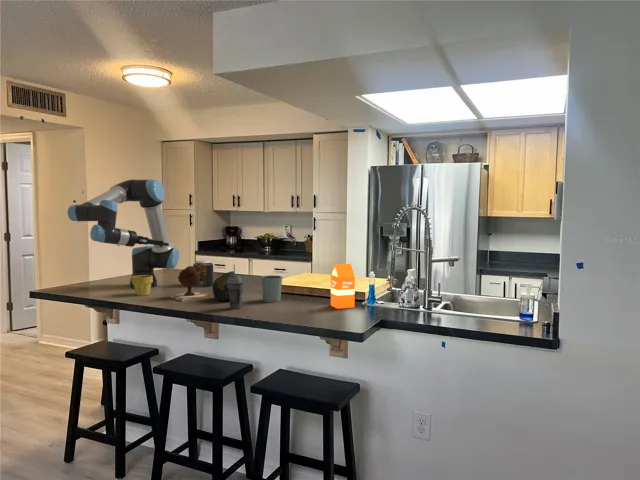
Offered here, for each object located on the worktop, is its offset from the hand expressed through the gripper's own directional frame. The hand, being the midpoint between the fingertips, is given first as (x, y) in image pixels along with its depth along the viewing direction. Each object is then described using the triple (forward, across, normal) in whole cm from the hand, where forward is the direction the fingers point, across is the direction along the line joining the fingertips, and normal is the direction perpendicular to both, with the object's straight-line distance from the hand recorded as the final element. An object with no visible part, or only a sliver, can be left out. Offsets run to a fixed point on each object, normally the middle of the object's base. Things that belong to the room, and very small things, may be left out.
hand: (166, 244), depth 243 cm
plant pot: (+2, -18, -28) cm, 34 cm away
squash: (+24, +26, -23) cm, 42 cm away
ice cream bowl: (+14, +6, -24) cm, 29 cm away
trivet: (+14, +7, -25) cm, 30 cm away
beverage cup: (+14, +44, -24) cm, 53 cm away
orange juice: (+50, +78, -16) cm, 94 cm away
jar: (+40, -20, -21) cm, 49 cm away
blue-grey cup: (+37, +44, -20) cm, 60 cm away
